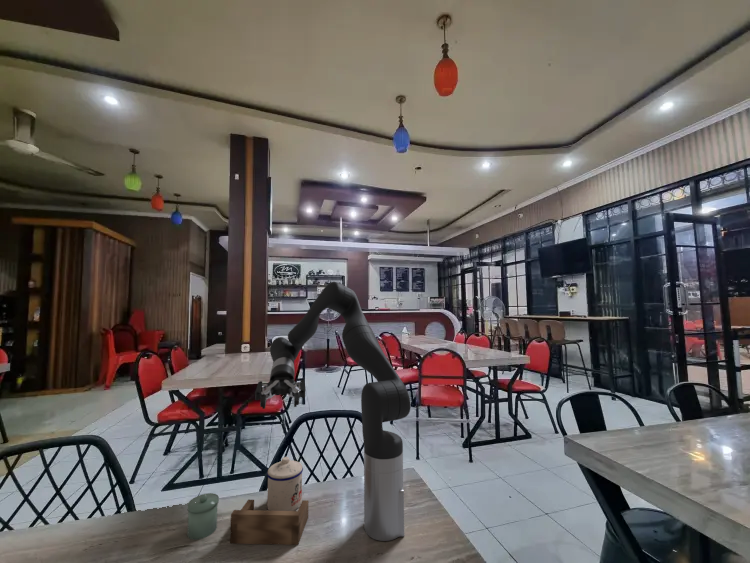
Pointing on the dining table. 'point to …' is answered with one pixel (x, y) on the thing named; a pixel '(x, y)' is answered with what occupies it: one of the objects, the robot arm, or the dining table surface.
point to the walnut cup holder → (268, 525)
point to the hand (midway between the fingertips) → (279, 405)
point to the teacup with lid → (284, 485)
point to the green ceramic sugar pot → (202, 516)
